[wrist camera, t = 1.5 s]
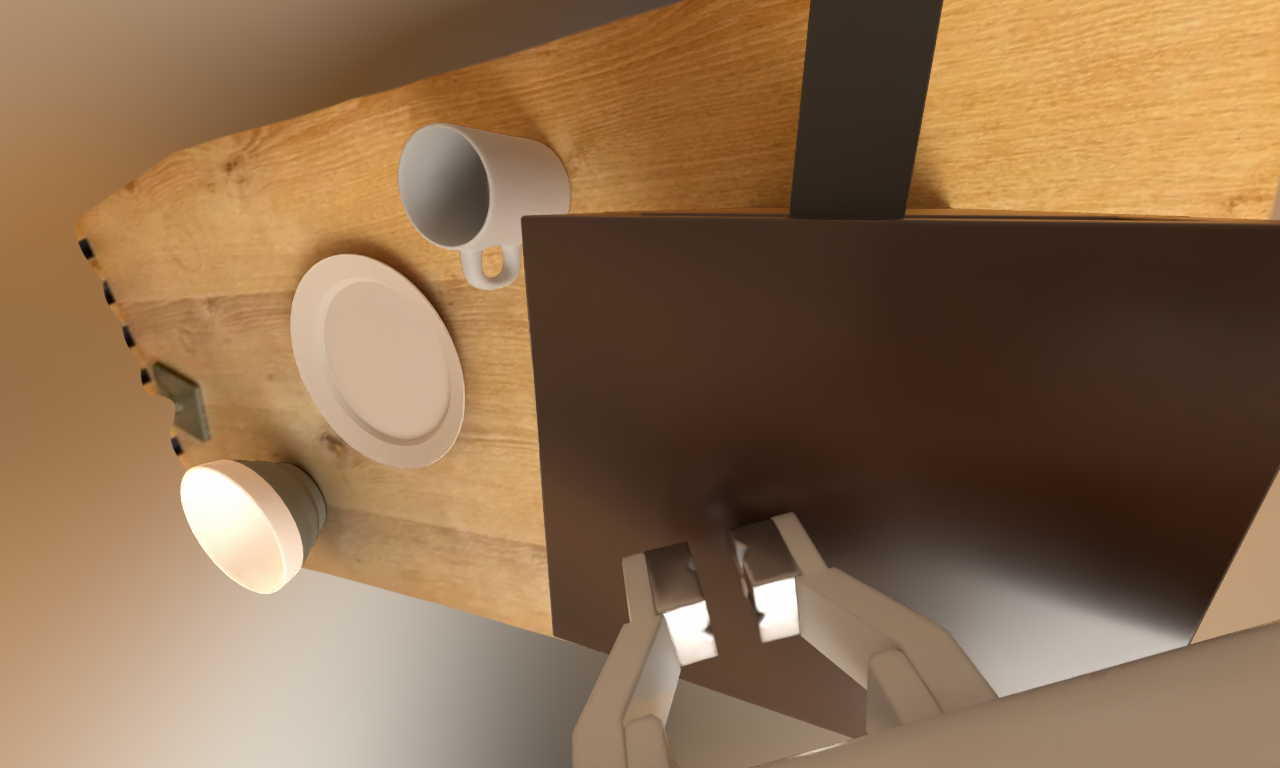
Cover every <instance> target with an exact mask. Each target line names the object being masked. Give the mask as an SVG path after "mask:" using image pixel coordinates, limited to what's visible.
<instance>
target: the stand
mask: <svg viewBox="0 0 1280 768" xmlns="http://www.w3.org/2000/svg"><path fill="white" fill-rule="evenodd" d="M789 211H790V208H722V209H690V210H659V211H627V212H604V213H581V214H552V215H524V216H522V217H521V231H522V244H523V256H524V269H525V282H526V295H527V307H528V320H529V333H530V346H531V358H532V371H533V384H534V397H535V410H536V422H537V435H538V448H539V461H540V473H541V486H542V499H543V512H544V525H545V537H546V550H547V563H548V576H549V588H550V601H551V614H552V627H553V635H554V636H555V637H558V638H561V639H564V640H567V641H570V642H573V643H576V644H579V645H582V646H585V647H588V648H590V649H593V650H596V651H599V652H602V653H605V654H608V655H609V654H610V652H611V650H612V648H613V646H614V644H615V642H616V639H617V637H618V635H619V633H620V631H621V629H622V627H623V625H624V624H627V623H630V618H629V611H628V603H627V596H626V588H625V581H624V574H623V566H622V559H623V557H625V556H629V555H633V554H637V553H641V552H645V551H648V550H652V549H657V548H661V547H665V546H669V545H673V544H677V543H681V542H685V541H688V545H689V548H690V551H691V554H692V558H693V562H694V566H695V570H696V572H697V574H698V578H699V581H700V585H701V588H702V591H703V595H704V598H705V602H706V606H707V610H708V614H709V618H710V624H711V628H712V631H713V635H714V639H715V643H716V648H717V652H718V656H715V657H712V658H708V659H705V660H702V661H699V662H695V663H692V664H689V665H686V666H682V667H680V668H681V671H680V675H679V679H681V680H684V681H687V682H690V683H693V684H696V685H699V686H701V687H705V688H707V689H710V690H713V691H716V692H719V693H722V694H725V695H728V696H731V697H734V698H736V699H739V700H742V701H745V702H748V703H751V704H754V705H757V706H760V707H763V708H766V709H769V710H772V711H775V712H778V713H780V714H783V715H786V716H789V717H792V718H795V719H798V720H801V721H804V722H807V723H810V724H812V725H815V726H818V727H821V728H824V729H827V730H830V731H833V732H836V733H839V734H842V735H845V736H848V737H850V738H853V739H854V738H858V737H862V736H865V735H868V734H867V732H866V720H867V690H866V689H865V688H863V687H862V686H861V685H860V684H859V683H857V682H856V681H855V680H854V679H853V678H851V677H850V676H849V675H848V674H847V673H845V672H844V671H843V670H842V669H841V668H839V667H838V666H837V665H836V664H834V663H833V662H832V661H831V660H830V659H828V658H827V657H826V656H825V655H824V654H822V653H821V652H820V651H819V650H818V649H816V648H815V647H814V646H813V645H812V644H810V643H809V642H808V641H807V640H805V639H804V638H803V637H802V636H801V634H799V635H794V636H790V637H786V638H782V639H778V640H774V641H770V642H766V643H762V642H761V639H760V637H759V634H758V632H757V629H756V627H755V624H754V622H753V619H752V617H751V612H750V607H749V601H748V600H747V599H746V598H744V596H743V593H742V590H741V588H740V585H739V582H738V579H737V576H736V572H735V568H734V564H733V559H732V554H733V550H732V547H731V545H730V542H729V538H728V529H731V528H735V527H738V526H742V525H745V524H749V523H752V522H756V521H759V520H763V519H766V518H771V517H774V516H778V515H782V514H785V513H789V512H793V513H794V514H796V516H797V517H798V519H799V521H800V522H801V524H802V526H803V527H804V529H805V531H806V532H807V534H808V535H809V537H810V539H811V540H812V542H813V544H814V545H815V547H816V549H817V550H818V552H819V554H820V555H821V557H822V559H823V560H824V562H825V564H826V565H827V567H828V568H832V567H836V568H838V569H840V570H842V571H844V572H845V573H847V574H849V575H851V576H852V577H854V578H856V579H858V580H860V581H861V582H863V583H865V584H867V585H869V586H870V587H872V588H874V589H876V590H877V591H879V592H881V593H883V594H885V595H886V596H888V597H890V598H892V599H893V600H895V601H897V602H899V603H901V604H902V605H904V606H906V607H908V608H909V609H911V610H913V611H915V612H917V613H918V614H920V615H922V616H924V617H925V618H927V619H929V620H931V621H933V622H934V623H936V624H938V625H940V626H941V627H943V628H945V629H947V630H948V631H949V632H950V633H951V635H952V636H953V637H954V639H955V640H956V641H957V642H958V644H959V645H960V646H961V648H962V649H963V650H964V652H965V653H966V654H967V656H968V657H969V658H970V660H971V661H972V662H973V663H974V665H975V666H976V667H977V669H978V670H979V671H980V673H981V674H982V675H983V677H984V678H985V679H986V681H987V682H988V683H989V684H990V686H991V687H992V688H993V690H994V691H995V692H996V694H997V695H998V696H999V698H1001V697H1005V696H1009V695H1012V694H1016V693H1019V692H1023V691H1026V690H1030V689H1034V688H1037V687H1041V686H1044V685H1048V684H1052V683H1055V682H1059V681H1062V680H1066V679H1069V678H1073V677H1076V676H1080V675H1084V674H1087V673H1091V672H1094V671H1098V670H1101V669H1105V668H1109V667H1112V666H1116V665H1119V664H1123V663H1126V662H1130V661H1134V660H1137V659H1141V658H1144V657H1148V656H1151V655H1155V654H1158V653H1162V652H1166V651H1169V650H1173V649H1176V648H1180V647H1183V646H1187V645H1190V643H1191V641H1192V639H1193V637H1194V635H1195V633H1196V631H1197V630H1198V628H1199V626H1200V624H1201V622H1202V620H1203V618H1204V616H1205V614H1206V612H1207V610H1208V608H1209V606H1210V604H1211V602H1212V600H1213V598H1214V596H1215V594H1216V592H1217V591H1218V589H1219V587H1220V585H1221V583H1222V581H1223V579H1224V577H1225V575H1226V573H1227V571H1228V569H1229V567H1230V565H1231V563H1232V561H1233V559H1234V558H1235V555H1236V554H1237V552H1238V549H1239V548H1240V546H1241V544H1242V542H1243V540H1244V538H1245V536H1246V534H1247V532H1248V530H1249V528H1250V526H1251V524H1252V522H1253V521H1254V519H1255V517H1256V514H1257V513H1258V511H1259V509H1260V507H1261V505H1262V503H1263V501H1264V499H1265V497H1266V495H1267V493H1268V491H1269V489H1270V487H1271V485H1272V483H1273V481H1274V480H1275V478H1276V476H1277V474H1278V472H1279V470H1280V220H1254V219H1226V218H1198V217H1187V216H1158V215H1129V214H1099V213H1070V212H1041V211H1011V210H982V209H952V208H906V214H905V218H825V217H789Z"/></svg>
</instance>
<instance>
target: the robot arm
mask: <svg viewBox="0 0 1280 768" xmlns="http://www.w3.org/2000/svg"><path fill="white" fill-rule="evenodd" d="M728 538H729V542H730V545H731V547H732V550H733V554H732V559H733V564H734V568H735V572H736V576H737V579H738V582H739V585H740V588H741V590H742V593H743V596H744V598H746V599H747V600H748V601H749V607H750V612H751V617H752V619H753V622H754V624H755V627H756V629H757V632H758V634H759V637H760V639H761V642H762V643H766V642H770V641H774V640H778V639H782V638H786V637H790V636H794V635H799V634H801V636H802V637H803V638H804V639H805V640H807V641H808V642H809V643H810V644H812V645H813V646H814V647H815V648H816V649H818V650H819V651H820V652H821V653H822V654H824V655H825V656H826V657H827V658H828V659H830V660H831V661H832V662H833V663H834V664H836V665H837V666H838V667H839V668H841V669H842V670H843V671H844V672H845V673H847V674H848V675H849V676H850V677H851V678H853V679H854V680H855V681H856V682H857V683H859V684H860V685H861V686H862V687H863V688H865V689H866V690H867V720H866V732H867V734H868V735H865V736H862V737H858V738H854V739H851V740H848V741H844V742H840V743H837V744H833V745H829V746H826V747H822V748H819V749H815V750H812V751H808V752H805V753H801V754H797V755H794V756H790V757H787V758H783V759H780V760H776V761H772V762H769V763H765V764H761V765H758V766H754V767H751V768H1280V620H1276V621H1272V622H1269V623H1266V624H1262V625H1258V626H1255V627H1251V628H1248V629H1244V630H1240V631H1237V632H1233V633H1230V634H1226V635H1223V636H1219V637H1216V638H1212V639H1209V640H1205V641H1201V642H1198V643H1194V644H1191V645H1187V646H1183V647H1180V648H1176V649H1173V650H1169V651H1166V652H1162V653H1158V654H1155V655H1151V656H1148V657H1144V658H1141V659H1137V660H1134V661H1130V662H1126V663H1123V664H1119V665H1116V666H1112V667H1109V668H1105V669H1101V670H1098V671H1094V672H1091V673H1087V674H1084V675H1080V676H1076V677H1073V678H1069V679H1066V680H1062V681H1059V682H1055V683H1052V684H1048V685H1044V686H1041V687H1037V688H1034V689H1030V690H1026V691H1023V692H1019V693H1016V694H1012V695H1009V696H1005V697H1001V698H999V696H998V695H997V694H996V692H995V691H994V690H993V688H992V687H991V686H990V684H989V683H988V682H987V681H986V679H985V678H984V677H983V675H982V674H981V673H980V671H979V670H978V669H977V667H976V666H975V665H974V663H973V662H972V661H971V660H970V658H969V657H968V656H967V654H966V653H965V652H964V650H963V649H962V648H961V646H960V645H959V644H958V642H957V641H956V640H955V639H954V637H953V636H952V635H951V633H950V632H949V631H948V630H947V629H945V628H943V627H941V626H940V625H938V624H936V623H934V622H933V621H931V620H929V619H927V618H925V617H924V616H922V615H920V614H918V613H917V612H915V611H913V610H911V609H909V608H908V607H906V606H904V605H902V604H901V603H899V602H897V601H895V600H893V599H892V598H890V597H888V596H886V595H885V594H883V593H881V592H879V591H877V590H876V589H874V588H872V587H870V586H869V585H867V584H865V583H863V582H861V581H860V580H858V579H856V578H854V577H852V576H851V575H849V574H847V573H845V572H844V571H842V570H840V569H838V568H836V567H832V568H828V567H827V565H826V564H825V562H824V560H823V559H822V557H821V555H820V554H819V552H818V550H817V549H816V547H815V545H814V544H813V542H812V540H811V539H810V537H809V535H808V534H807V532H806V531H805V529H804V527H803V526H802V524H801V522H800V521H799V519H798V517H797V516H796V514H794V513H793V512H789V513H785V514H782V515H778V516H774V517H771V518H766V519H763V520H759V521H756V522H752V523H749V524H745V525H742V526H738V527H735V528H731V529H728ZM622 566H623V574H624V581H625V588H626V596H627V603H628V611H629V618H630V623H627V624H624V625H623V627H622V629H621V631H620V633H619V635H618V637H617V639H616V642H615V644H614V646H613V648H612V650H611V652H610V654H609V657H608V659H607V661H606V663H605V665H604V667H603V669H602V671H601V673H600V676H599V678H598V680H597V682H596V684H595V686H594V688H593V691H592V693H591V695H590V697H589V699H588V701H587V703H586V705H585V707H584V710H583V712H582V714H581V716H580V718H579V720H578V722H577V724H576V727H575V729H574V731H573V733H572V748H573V749H572V750H573V768H679V767H678V764H677V762H676V759H675V756H674V754H673V751H672V748H671V745H670V743H669V740H668V737H667V735H666V732H665V730H664V728H665V725H666V721H667V718H668V714H669V710H670V707H671V703H672V700H673V696H674V693H675V689H676V686H677V682H678V679H679V675H680V671H681V668H680V667H682V666H686V665H689V664H692V663H695V662H699V661H702V660H705V659H708V658H712V657H715V656H718V652H717V648H716V643H715V639H714V635H713V631H712V628H711V624H710V618H709V614H708V610H707V606H706V602H705V598H704V595H703V591H702V588H701V585H700V581H699V578H698V574H697V572H696V570H695V566H694V562H693V558H692V554H691V551H690V548H689V545H688V541H685V542H681V543H677V544H673V545H669V546H665V547H661V548H657V549H652V550H648V551H645V552H641V553H637V554H633V555H629V556H625V557H623V559H622Z"/></svg>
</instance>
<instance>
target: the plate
mask: <svg viewBox="0 0 1280 768" xmlns="http://www.w3.org/2000/svg"><path fill="white" fill-rule="evenodd" d="M290 324H291V340H292V347H293V352H294V356H295V360H296V363H297V367H298V370H299V373H300V375H301V378H302V380H303V383H304V385H305V387H306V389H307V391H308V393H309V395H310V397H311V399H312V401H313V402H314V404H315V406H316V407H317V409H318V410H319V412H320V413H321V415H322V416H323V417H324V419H325V420H326V421H327V423H328V424H329V425H330V426H331V427H332V428H333V430H334V431H335V432H336V433H337V434H338V435H339V436H340V437H341V438H342V439H343V440H344V441H345V442H347V443H348V444H349V445H350V446H351V447H353V448H354V449H355V450H357V451H358V452H360V453H361V454H363V455H364V456H366V457H368V458H370V459H372V460H373V461H375V462H378V463H380V464H383V465H386V466H390V467H394V468H401V469H415V468H420V467H425V466H427V465H430V464H432V463H434V462H436V461H437V460H439V459H440V458H442V457H443V456H444V455H445V454H446V453H447V452H448V451H449V450H450V448H451V447H452V445H453V444H454V442H455V440H456V438H457V436H458V434H459V432H460V429H461V425H462V422H463V416H464V410H465V388H464V379H463V374H462V368H461V365H460V361H459V358H458V354H457V351H456V349H455V346H454V344H453V341H452V339H451V337H450V335H449V333H448V331H447V329H446V327H445V325H444V323H443V321H442V320H441V318H440V316H439V315H438V313H437V312H436V310H435V309H434V307H433V306H432V305H431V303H430V302H429V301H428V299H427V298H426V297H425V296H424V295H423V294H422V293H421V291H420V290H419V289H418V288H417V287H416V286H415V285H414V284H413V283H412V282H410V281H409V280H408V279H407V278H406V277H405V276H404V275H402V274H401V273H399V272H398V271H396V270H395V269H394V268H392V267H390V266H388V265H387V264H385V263H383V262H381V261H379V260H376V259H374V258H371V257H368V256H364V255H359V254H347V253H345V254H338V255H333V256H330V257H327V258H325V259H323V260H321V261H320V262H318V263H316V264H315V265H314V266H313V267H312V268H311V269H309V270H308V272H307V273H306V274H305V275H304V277H303V278H302V280H301V282H300V283H299V285H298V287H297V290H296V293H295V295H294V299H293V304H292V308H291V319H290Z"/></svg>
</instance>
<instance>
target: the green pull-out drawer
mask: <svg viewBox="0 0 1280 768" xmlns="http://www.w3.org/2000/svg"><path fill="white" fill-rule="evenodd" d="M942 5H943V0H811V2H810V12H809V22H808V32H807V42H806V52H805V62H804V72H803V82H802V91H801V101H800V111H799V121H798V131H797V141H796V151H795V161H794V171H793V181H792V191H791V201H790V211H789V217H825V218H905V214H906V208H907V202H908V197H909V191H910V185H911V180H912V174H913V169H914V163H915V157H916V152H917V146H918V140H919V135H920V129H921V124H922V118H923V112H924V107H925V101H926V95H927V90H928V84H929V79H930V73H931V67H932V62H933V56H934V50H935V45H936V39H937V34H938V28H939V22H940V17H941V11H942Z"/></svg>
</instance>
